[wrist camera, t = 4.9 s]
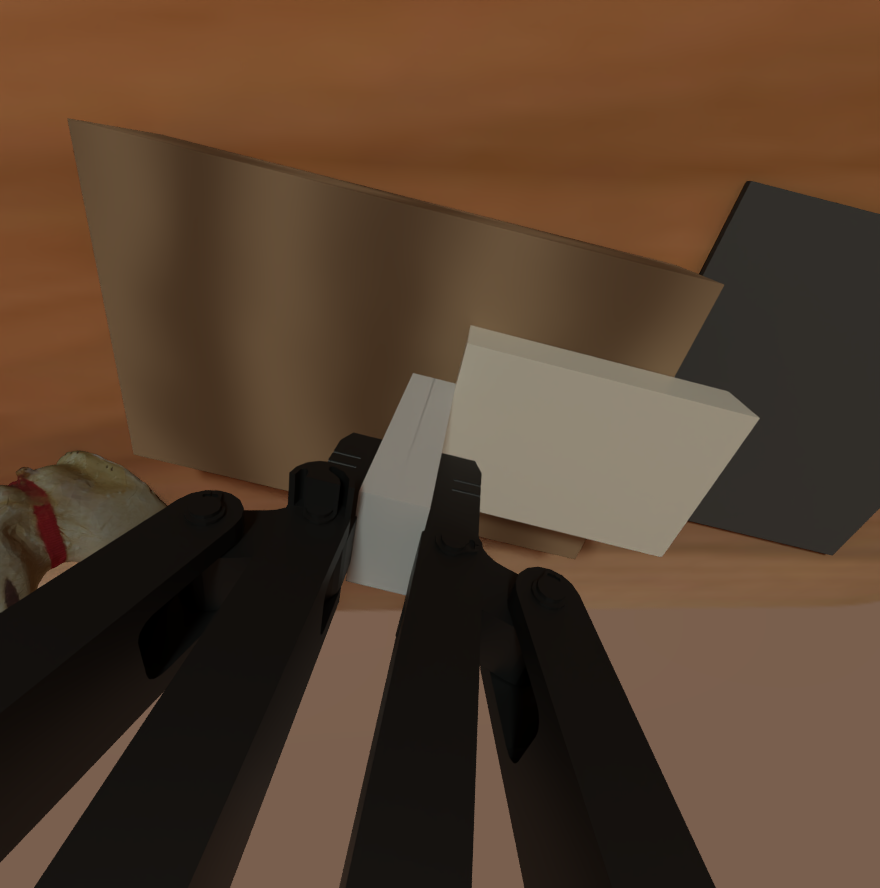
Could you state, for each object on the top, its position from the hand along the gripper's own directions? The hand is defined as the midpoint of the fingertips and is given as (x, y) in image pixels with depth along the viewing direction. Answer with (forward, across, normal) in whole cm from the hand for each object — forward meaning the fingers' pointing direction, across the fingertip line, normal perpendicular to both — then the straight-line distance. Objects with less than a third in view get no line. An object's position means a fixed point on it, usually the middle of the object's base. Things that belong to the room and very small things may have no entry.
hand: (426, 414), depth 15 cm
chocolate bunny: (+5, -17, -13) cm, 22 cm away
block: (+1, +5, 0) cm, 5 cm away
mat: (+5, +15, +2) cm, 16 cm away
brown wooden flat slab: (+5, -2, 0) cm, 6 cm away
